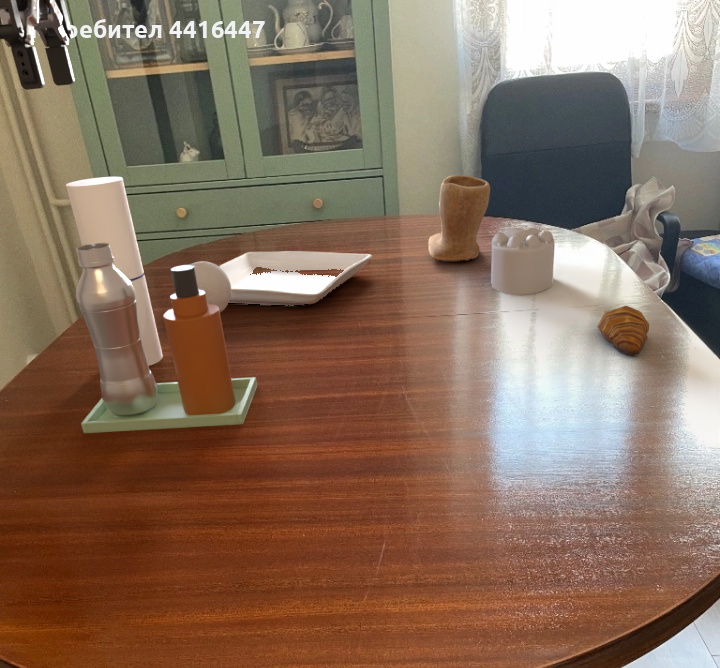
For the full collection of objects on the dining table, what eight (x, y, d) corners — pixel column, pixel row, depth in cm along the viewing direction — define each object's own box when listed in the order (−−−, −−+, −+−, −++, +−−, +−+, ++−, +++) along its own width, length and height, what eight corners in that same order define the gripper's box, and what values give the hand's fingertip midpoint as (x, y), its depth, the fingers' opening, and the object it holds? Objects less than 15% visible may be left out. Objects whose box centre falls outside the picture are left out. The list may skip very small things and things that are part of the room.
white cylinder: (236, 357, 106) (218, 252, 98) (251, 372, 100) (233, 262, 92) (188, 368, 103) (165, 261, 96) (200, 384, 98) (178, 272, 90)
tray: (84, 436, 86) (80, 423, 85) (114, 397, 96) (111, 385, 95) (243, 427, 85) (241, 414, 84) (257, 388, 95) (255, 376, 94)
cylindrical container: (138, 374, 102) (92, 186, 90) (103, 368, 106) (53, 186, 93) (173, 357, 108) (134, 176, 95) (138, 351, 111) (96, 176, 98)
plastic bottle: (118, 400, 94) (76, 241, 84) (169, 398, 93) (132, 238, 83) (98, 422, 88) (50, 255, 78) (151, 421, 87) (109, 252, 77)
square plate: (320, 315, 119) (318, 291, 117) (179, 309, 129) (174, 287, 127) (374, 270, 141) (373, 250, 139) (250, 268, 150) (247, 249, 148)
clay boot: (490, 264, 138) (492, 180, 131) (428, 267, 140) (426, 184, 132) (486, 245, 151) (487, 168, 144) (428, 248, 153) (426, 172, 145)
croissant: (587, 325, 105) (590, 291, 103) (636, 323, 105) (640, 289, 102) (605, 360, 94) (608, 323, 91) (659, 358, 93) (665, 320, 91)
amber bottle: (178, 418, 87) (146, 277, 79) (190, 396, 93) (161, 262, 84) (230, 415, 87) (204, 273, 78) (239, 393, 93) (216, 258, 84)
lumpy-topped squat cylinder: (549, 272, 131) (552, 222, 126) (555, 293, 120) (559, 239, 115) (490, 274, 132) (491, 225, 128) (491, 295, 121) (492, 242, 117)
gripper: (-3, -87, 77) (43, 87, 85) (-76, -112, 65) (-14, 93, 73) (66, -94, 76) (105, 81, 85) (5, -121, 64) (58, 87, 72)
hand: (50, 86), depth 79 cm, fingers open, 8 cm apart
